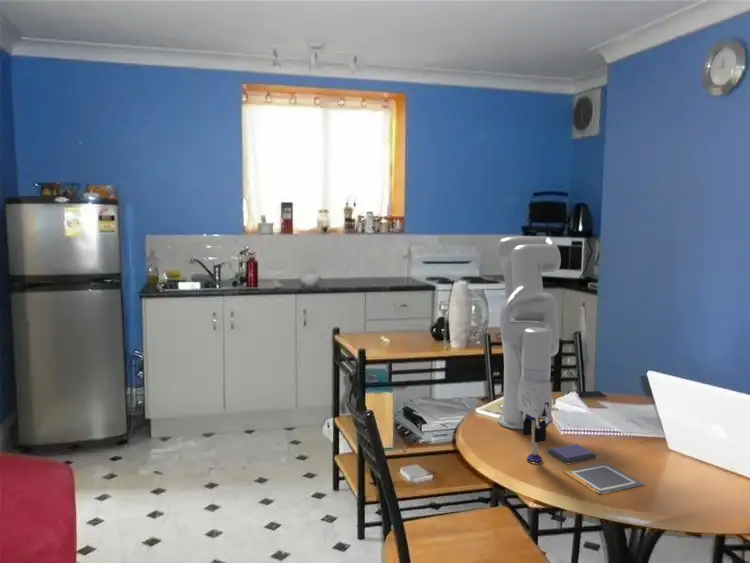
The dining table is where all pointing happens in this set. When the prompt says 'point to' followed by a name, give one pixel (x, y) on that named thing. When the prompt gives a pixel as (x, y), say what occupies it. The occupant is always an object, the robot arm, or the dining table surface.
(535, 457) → the toy lamp
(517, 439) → the dining table surface
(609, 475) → the marked board
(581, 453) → the ink pad
